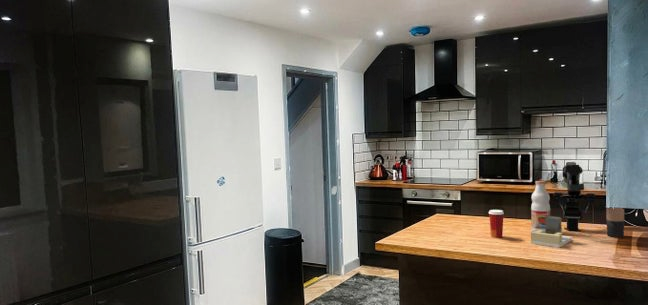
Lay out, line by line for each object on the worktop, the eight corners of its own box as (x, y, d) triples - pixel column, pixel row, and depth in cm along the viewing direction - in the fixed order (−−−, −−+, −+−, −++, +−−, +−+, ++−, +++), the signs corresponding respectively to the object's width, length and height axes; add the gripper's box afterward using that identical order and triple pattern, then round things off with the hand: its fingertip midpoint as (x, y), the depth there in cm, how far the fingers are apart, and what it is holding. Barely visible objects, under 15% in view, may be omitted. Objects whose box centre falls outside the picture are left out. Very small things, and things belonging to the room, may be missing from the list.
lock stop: (549, 235, 226) (548, 216, 225) (561, 236, 221) (561, 217, 221) (545, 237, 222) (545, 217, 222) (558, 238, 218) (558, 219, 217)
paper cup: (504, 235, 236) (504, 209, 235) (504, 238, 229) (503, 212, 228) (489, 234, 239) (488, 209, 238) (488, 237, 232) (487, 211, 231)
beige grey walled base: (545, 236, 231) (544, 225, 231) (572, 239, 222) (571, 229, 222) (530, 243, 218) (530, 232, 218) (559, 247, 209) (559, 236, 208)
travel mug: (627, 238, 221) (627, 199, 220) (610, 238, 223) (610, 199, 222) (620, 234, 229) (620, 196, 228) (604, 234, 230) (603, 197, 229)
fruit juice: (539, 228, 248) (539, 179, 247) (554, 232, 239) (553, 181, 238) (527, 230, 244) (527, 181, 243) (541, 234, 236) (541, 182, 235)
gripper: (553, 177, 228) (553, 203, 220) (595, 177, 219) (597, 205, 211) (553, 187, 236) (553, 213, 228) (593, 188, 227) (595, 215, 220)
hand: (574, 212), depth 222 cm, fingers open, 9 cm apart
